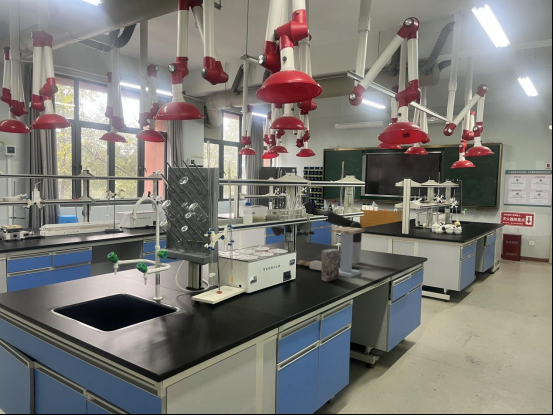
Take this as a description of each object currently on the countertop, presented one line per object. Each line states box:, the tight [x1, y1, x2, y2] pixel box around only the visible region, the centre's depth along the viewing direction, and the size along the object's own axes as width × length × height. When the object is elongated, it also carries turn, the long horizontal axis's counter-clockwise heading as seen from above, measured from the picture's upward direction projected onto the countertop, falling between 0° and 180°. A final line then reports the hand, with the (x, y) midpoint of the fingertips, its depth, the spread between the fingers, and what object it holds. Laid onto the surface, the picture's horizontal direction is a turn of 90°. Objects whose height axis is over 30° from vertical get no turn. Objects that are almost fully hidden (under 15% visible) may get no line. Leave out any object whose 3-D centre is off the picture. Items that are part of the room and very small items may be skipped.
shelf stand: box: [329, 226, 366, 279], centre depth 272 cm, size 16×22×32 cm
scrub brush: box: [296, 259, 322, 271], centre depth 290 cm, size 23×8×5 cm, turn 54°
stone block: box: [320, 248, 341, 282], centre depth 254 cm, size 13×7×20 cm, turn 136°
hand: (311, 233), depth 289 cm, fingers open, 8 cm apart
